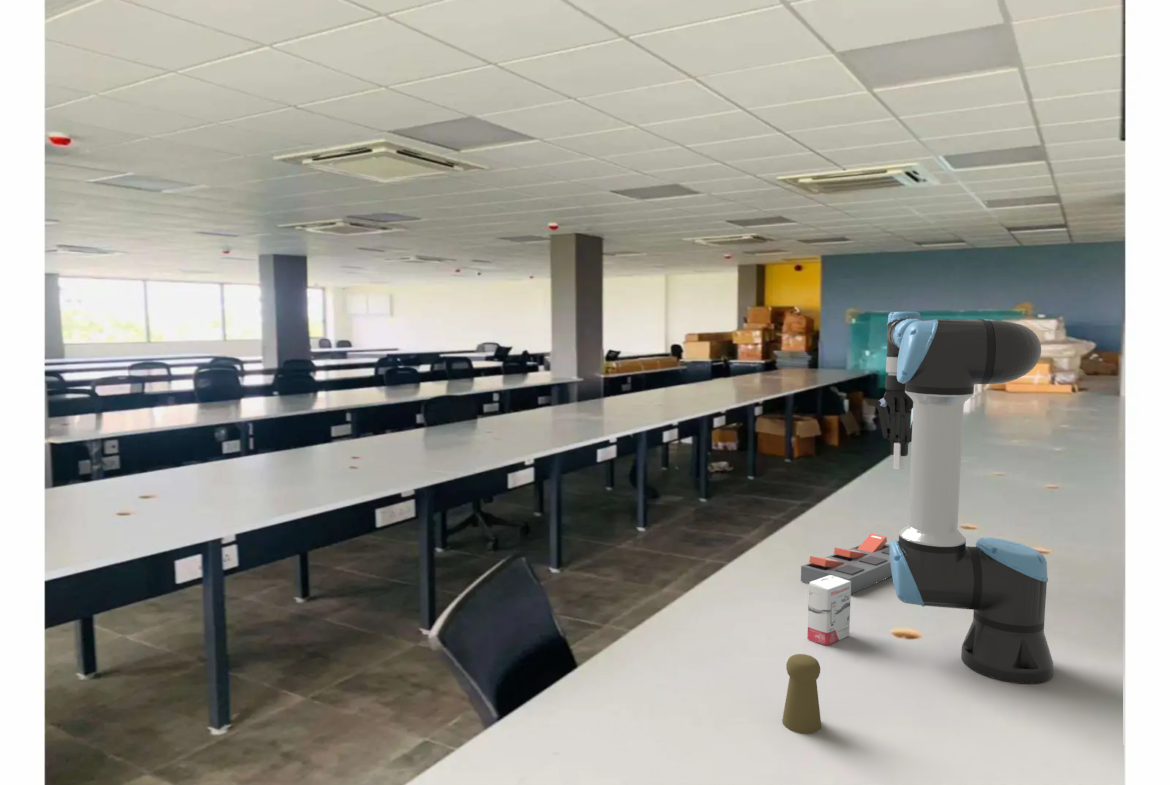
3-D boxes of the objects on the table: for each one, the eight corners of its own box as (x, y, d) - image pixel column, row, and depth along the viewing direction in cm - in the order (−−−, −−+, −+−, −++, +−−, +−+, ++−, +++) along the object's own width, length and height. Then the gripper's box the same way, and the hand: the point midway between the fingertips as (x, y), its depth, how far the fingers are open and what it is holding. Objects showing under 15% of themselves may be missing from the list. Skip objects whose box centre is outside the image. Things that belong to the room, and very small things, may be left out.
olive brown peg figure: (814, 714, 126) (816, 649, 125) (826, 733, 120) (828, 665, 119) (777, 714, 125) (779, 649, 124) (788, 734, 119) (790, 665, 118)
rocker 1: (841, 568, 193) (842, 561, 193) (824, 566, 188) (825, 559, 188) (825, 564, 197) (826, 557, 197) (809, 562, 191) (810, 555, 192)
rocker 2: (864, 559, 201) (865, 553, 201) (849, 557, 196) (850, 550, 196) (849, 555, 204) (850, 549, 204) (833, 553, 199) (834, 547, 199)
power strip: (931, 559, 210) (932, 544, 210) (848, 595, 181) (848, 577, 181) (886, 549, 220) (887, 534, 219) (800, 581, 191) (801, 564, 191)
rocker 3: (887, 541, 208) (886, 536, 208) (873, 557, 204) (872, 552, 203) (871, 538, 212) (870, 533, 211) (857, 554, 207) (856, 549, 207)
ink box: (826, 646, 152) (828, 589, 151) (805, 639, 156) (807, 582, 155) (850, 635, 158) (852, 579, 157) (829, 628, 161) (831, 573, 160)
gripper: (935, 374, 186) (931, 470, 188) (884, 372, 196) (881, 463, 198) (921, 376, 181) (917, 474, 183) (869, 373, 191) (866, 466, 193)
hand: (898, 468), depth 191 cm, fingers closed
